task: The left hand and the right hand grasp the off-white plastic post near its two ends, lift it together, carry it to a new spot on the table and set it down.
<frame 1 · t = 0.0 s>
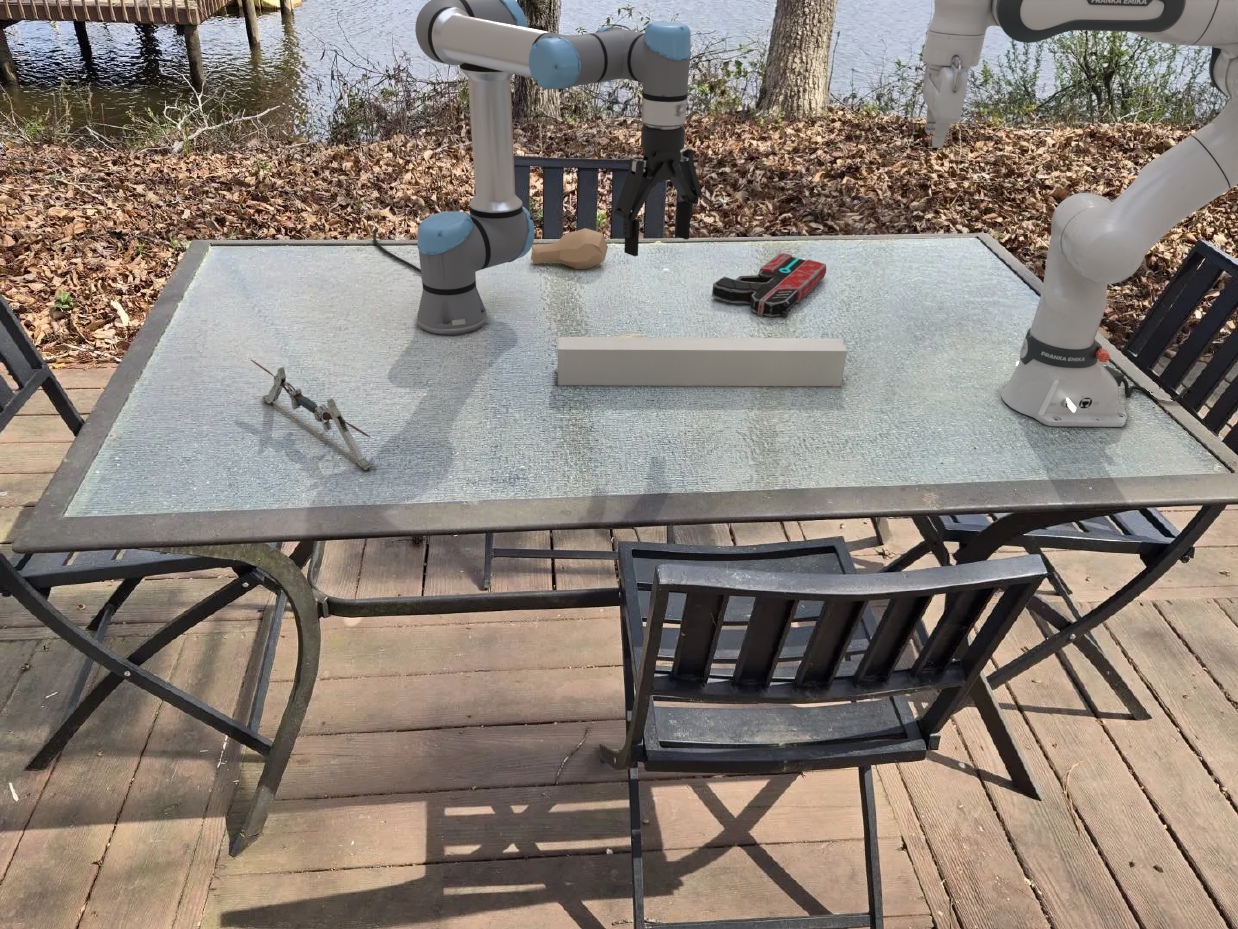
left hand: (657, 245, 161), 28 cm above the table, tool pointing down, fingers open, 13 cm apart
right hand: (933, 139, 150), 48 cm above the table, tool pointing down, fingers open, 8 cm apart
post: (699, 379, 177), on the table
bow: (314, 433, 157), on the table
gun: (770, 291, 216), on the table
squash: (569, 264, 228), on the table
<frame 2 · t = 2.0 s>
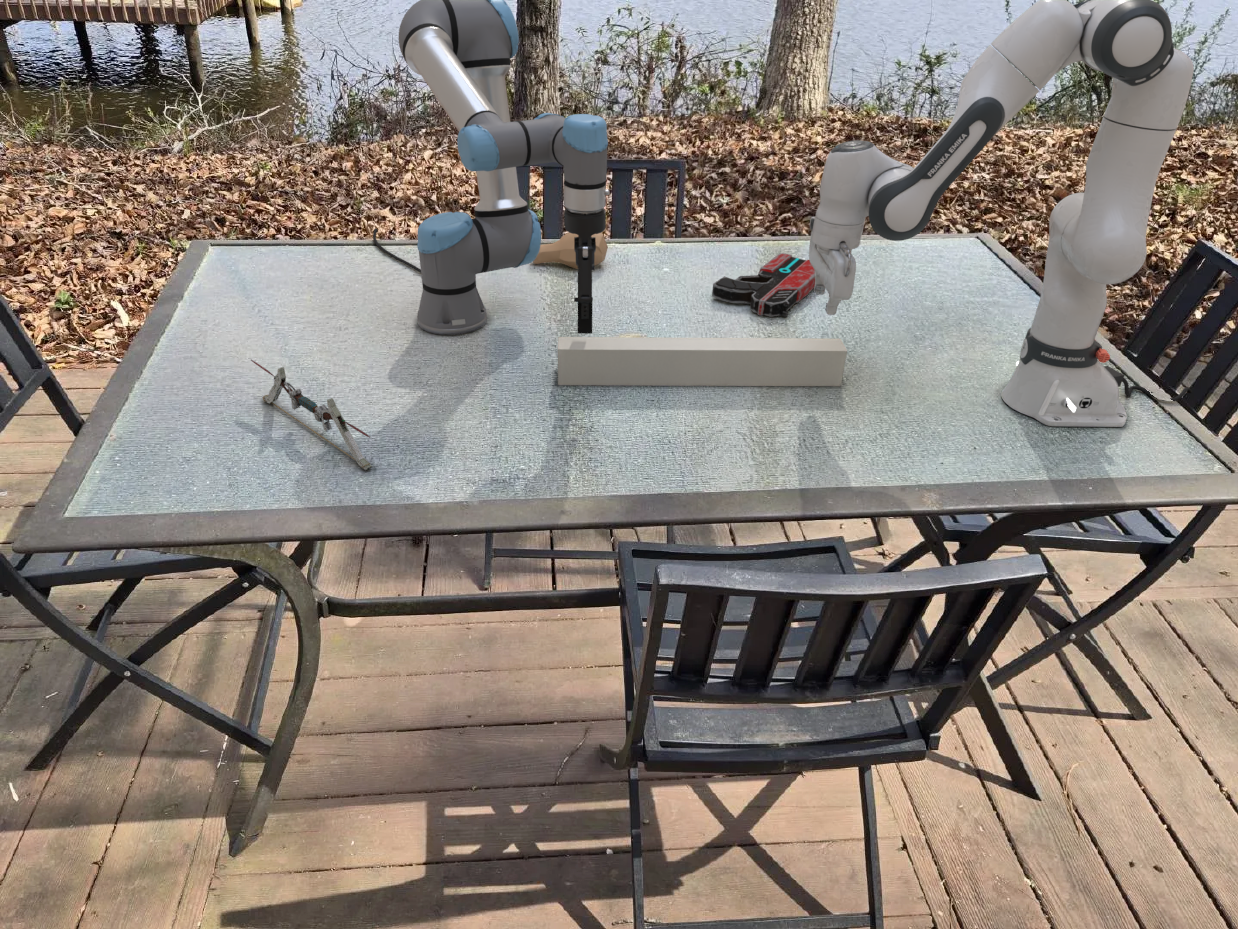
left hand: (584, 317, 169), 13 cm above the table, tool pointing down, fingers open, 13 cm apart
right hand: (824, 303, 169), 17 cm above the table, tool pointing down, fingers open, 8 cm apart
nothing on the table moved.
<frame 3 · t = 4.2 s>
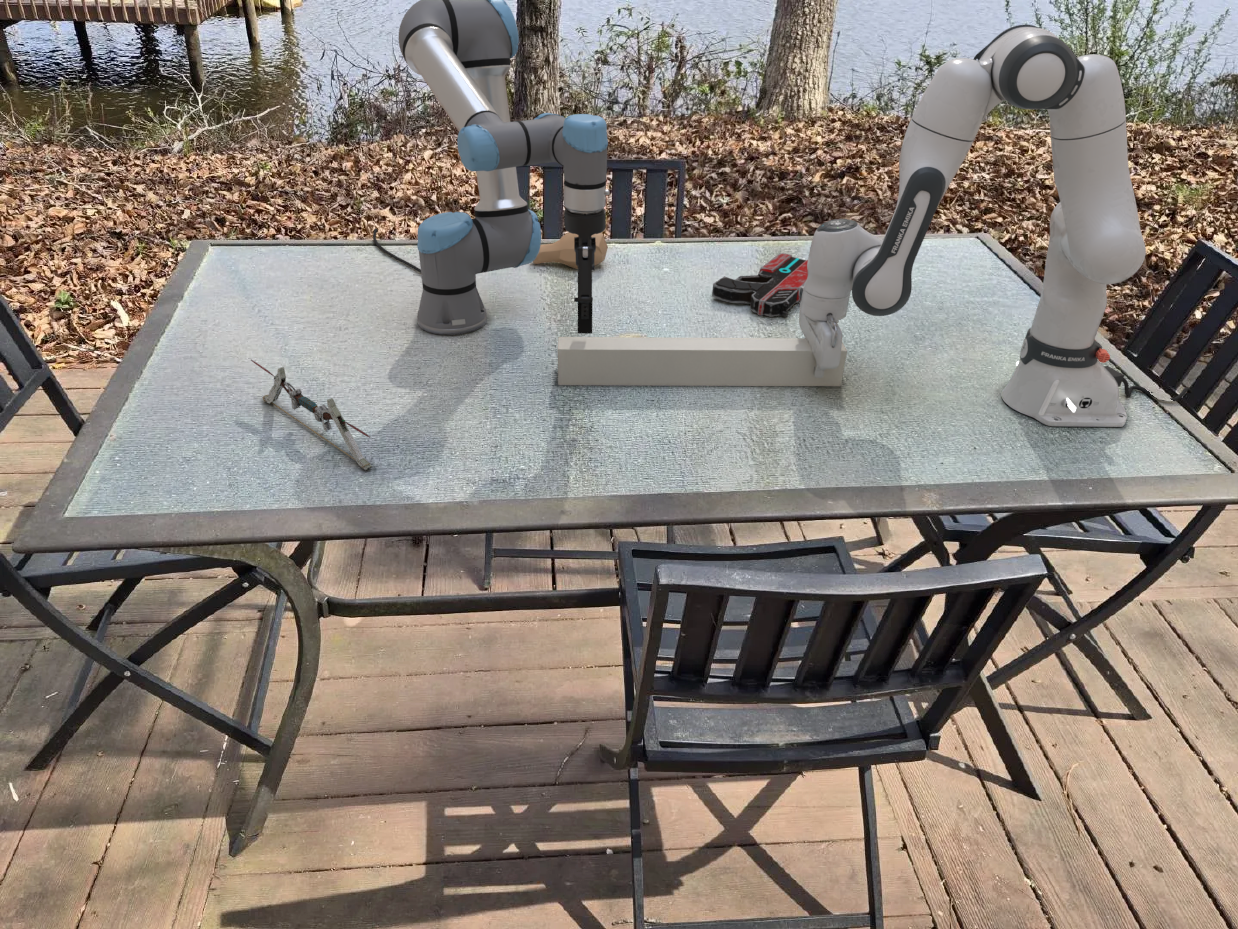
left hand: (584, 317, 169), 13 cm above the table, tool pointing down, fingers open, 13 cm apart
right hand: (814, 367, 177), 3 cm above the table, tool pointing down, fingers closed on post, 5 cm apart
post: (699, 379, 177), on the table, touching right hand
everything else where it was.
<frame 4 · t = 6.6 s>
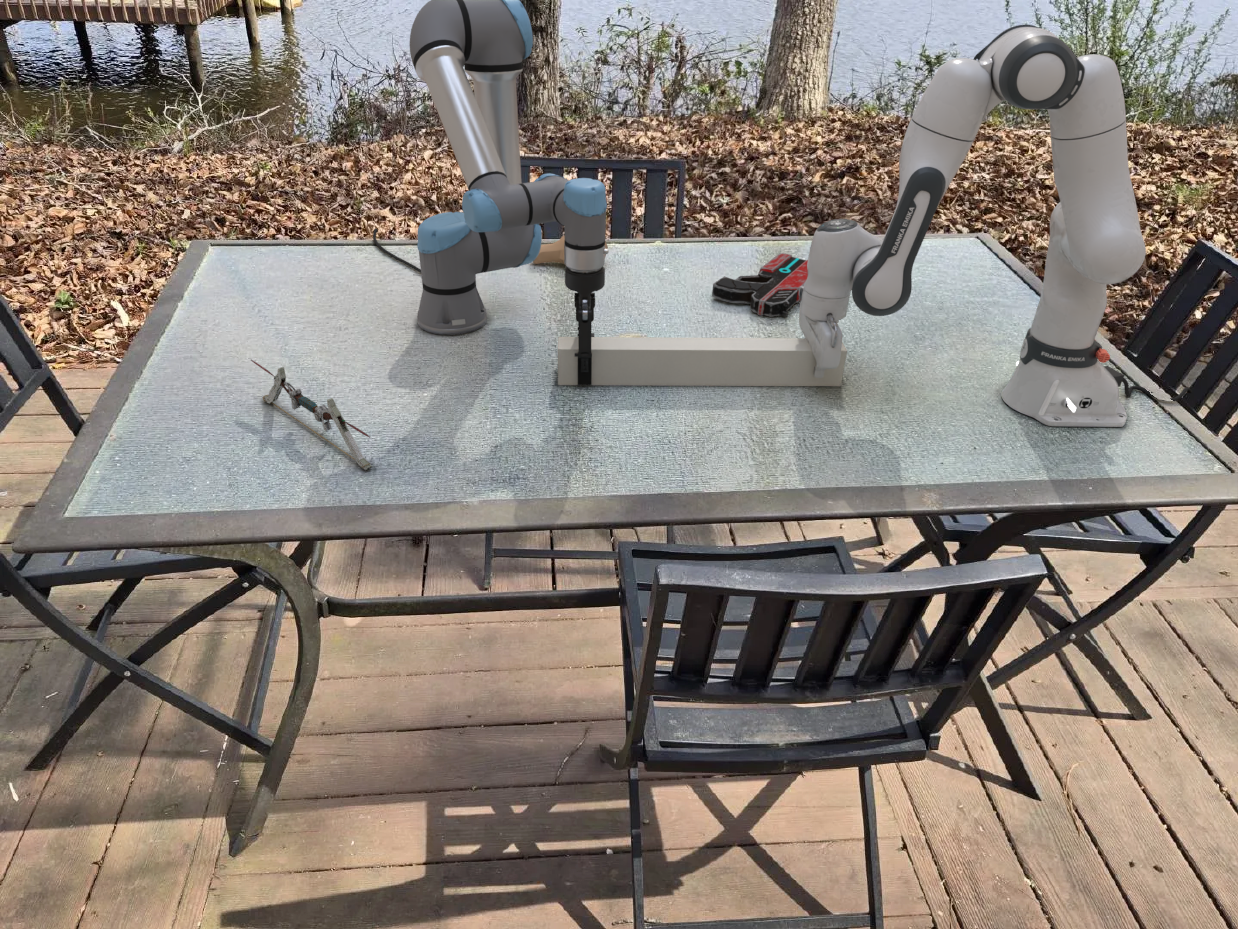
left hand: (584, 376, 176), 1 cm above the table, tool pointing down, fingers closed on post, 6 cm apart
right hand: (814, 367, 177), 3 cm above the table, tool pointing down, fingers closed on post, 5 cm apart
post: (698, 379, 177), on the table, touching left hand, right hand
everything else where it was.
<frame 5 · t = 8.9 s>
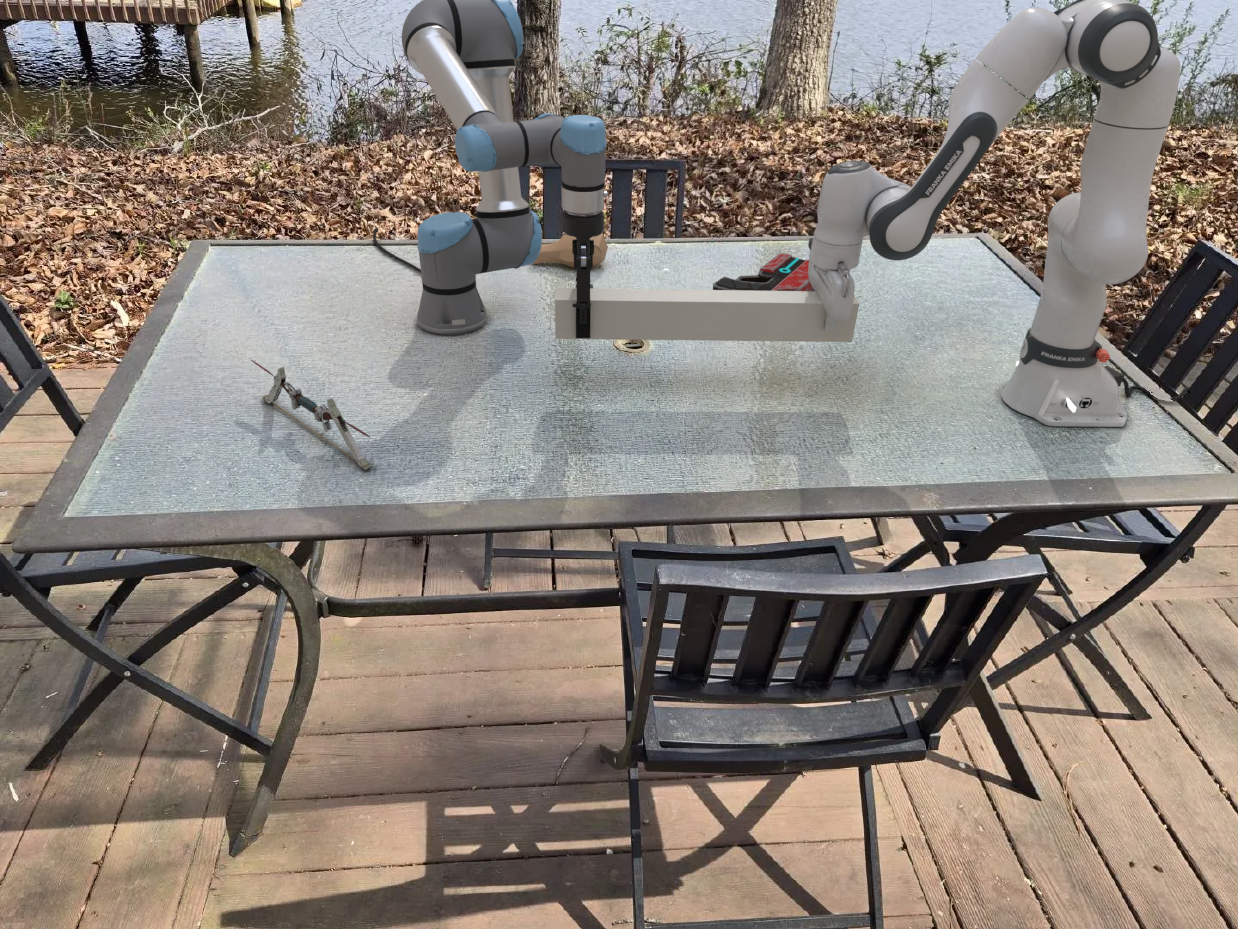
left hand: (582, 329, 168), 12 cm above the table, tool pointing down, fingers closed on post, 6 cm apart
right hand: (824, 322, 168), 14 cm above the table, tool pointing down, fingers closed on post, 5 cm apart
post: (703, 334, 169), point 11 cm above the table, touching left hand, right hand
everything else where it was.
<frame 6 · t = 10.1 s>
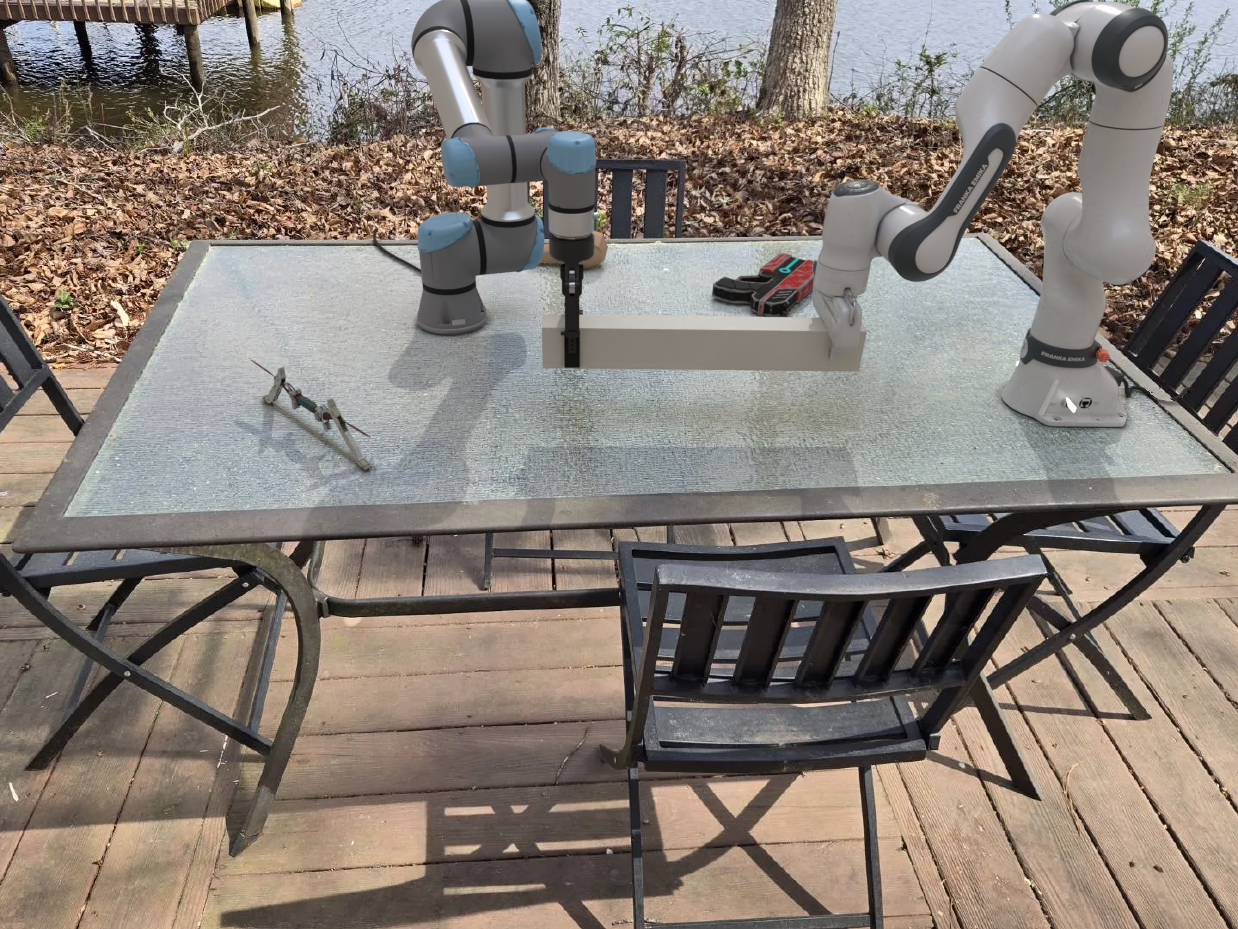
left hand: (572, 358, 157), 12 cm above the table, tool pointing down, fingers closed on post, 6 cm apart
right hand: (829, 350, 158), 14 cm above the table, tool pointing down, fingers closed on post, 5 cm apart
post: (700, 362, 159), point 11 cm above the table, touching left hand, right hand
everything else where it was.
when the left hand's fingers open (1 cm above the table, at t = 13.5 s): post stays where it is, held by the right hand.
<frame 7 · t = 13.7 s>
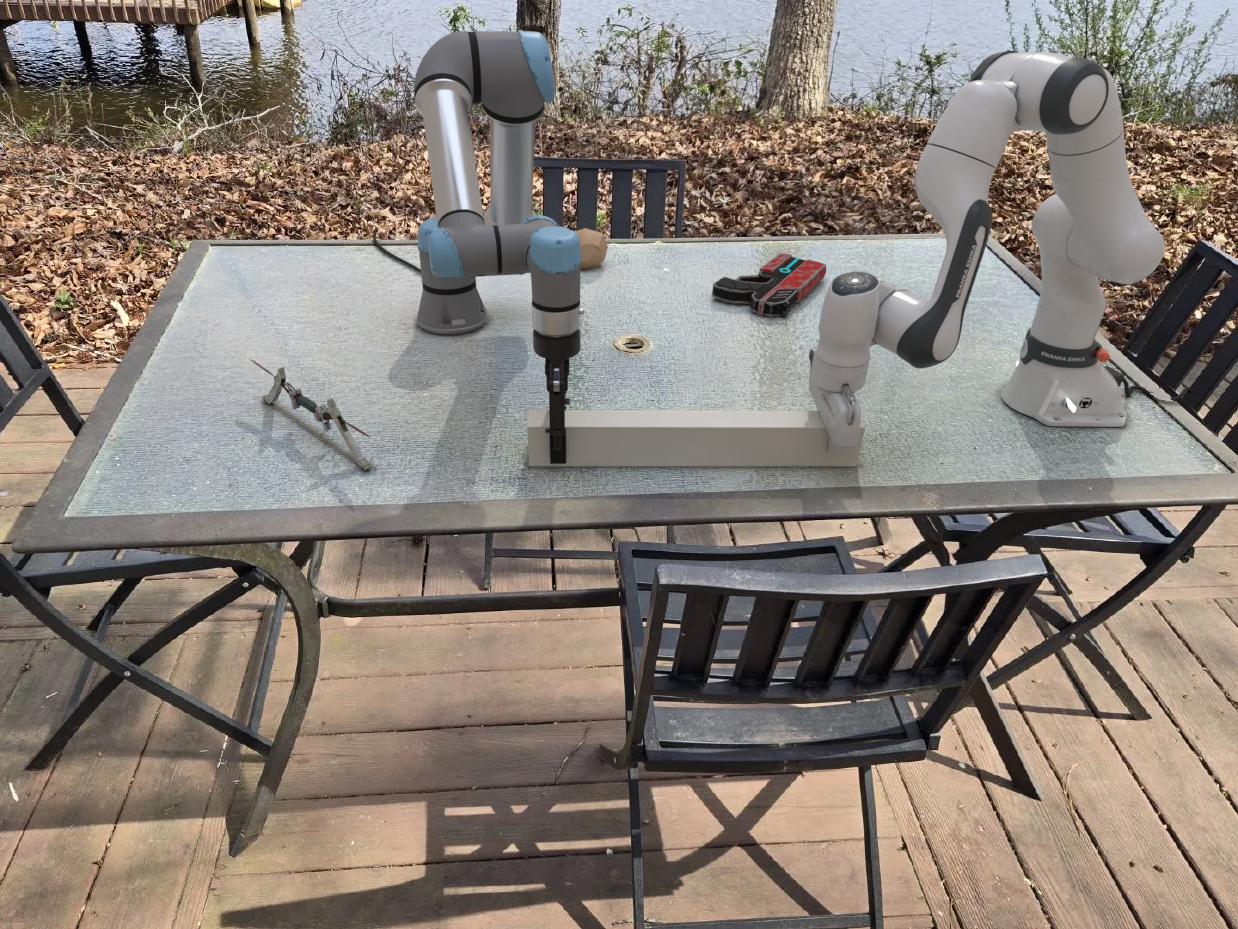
left hand: (558, 450, 151), 2 cm above the table, tool pointing down, fingers open, 7 cm apart
right hand: (827, 441, 152), 3 cm above the table, tool pointing down, fingers closed on post, 6 cm apart
post: (692, 457, 153), on the table, touching right hand
everything else where it was.
when the right hand's fingers open (3 cm above the table, at t = 13.8 s): post stays where it is, on the table.
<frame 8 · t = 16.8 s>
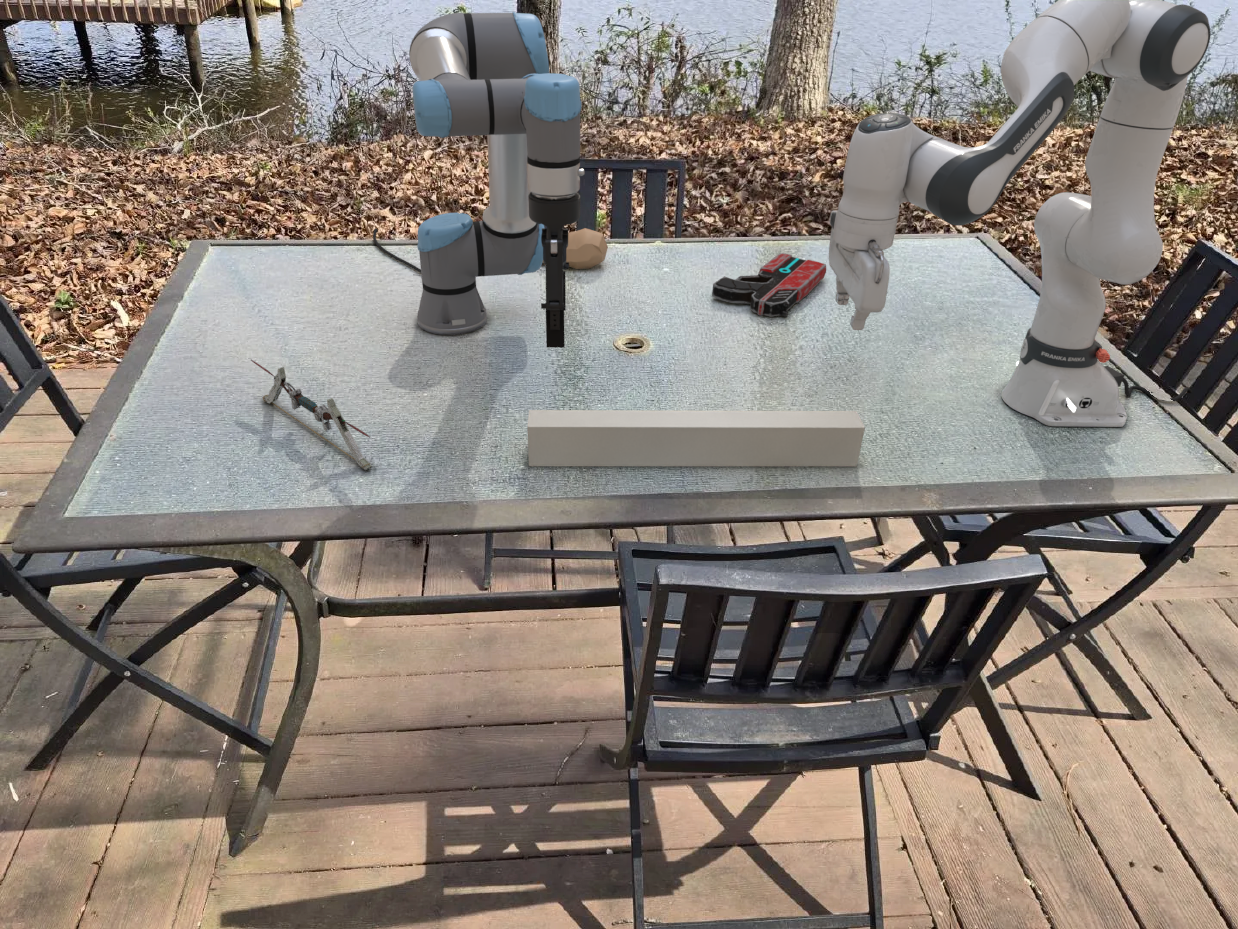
left hand: (556, 327, 138), 25 cm above the table, tool pointing down, fingers open, 13 cm apart
right hand: (848, 315, 139), 27 cm above the table, tool pointing down, fingers open, 8 cm apart
post: (692, 457, 153), on the table
everything else where it was.
at the end: post inside the target area (0.3 cm from its centre), on the table; post tilted 0°; post never tilted more than 1° during the clip; both hands held the post at the same time; the left hand is holding nothing; the right hand is holding nothing; post at rest at the end (0.0 cm/s) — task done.
